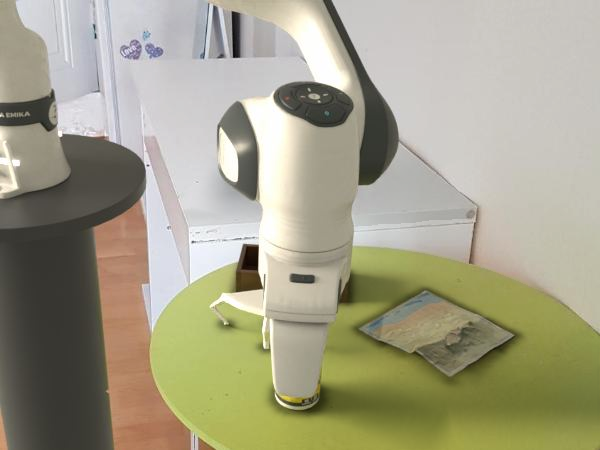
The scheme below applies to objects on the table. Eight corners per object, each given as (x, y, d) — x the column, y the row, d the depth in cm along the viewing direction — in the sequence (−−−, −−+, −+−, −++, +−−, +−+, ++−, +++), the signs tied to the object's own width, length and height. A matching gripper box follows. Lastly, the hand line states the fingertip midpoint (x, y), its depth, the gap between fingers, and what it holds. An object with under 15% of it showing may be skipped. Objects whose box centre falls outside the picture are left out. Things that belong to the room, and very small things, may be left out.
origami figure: (309, 313, 93) (311, 280, 91) (310, 355, 86) (312, 319, 83) (212, 310, 93) (212, 276, 91) (205, 351, 85) (204, 315, 83)
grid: (235, 294, 96) (235, 271, 95) (242, 265, 103) (243, 243, 101) (346, 302, 96) (348, 279, 94) (346, 272, 102) (348, 250, 101)
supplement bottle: (305, 417, 76) (309, 350, 73) (266, 400, 78) (268, 334, 75) (327, 391, 80) (332, 326, 76) (289, 376, 82) (292, 311, 78)
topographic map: (515, 336, 91) (517, 324, 90) (450, 380, 82) (451, 368, 81) (425, 293, 99) (427, 282, 99) (357, 329, 91) (358, 317, 90)
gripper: (280, 207, 81) (276, 314, 87) (261, 313, 63) (257, 439, 69) (339, 210, 81) (330, 318, 87) (336, 319, 62) (326, 444, 69)
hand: (298, 372), depth 78 cm, fingers closed on supplement bottle, 5 cm apart
